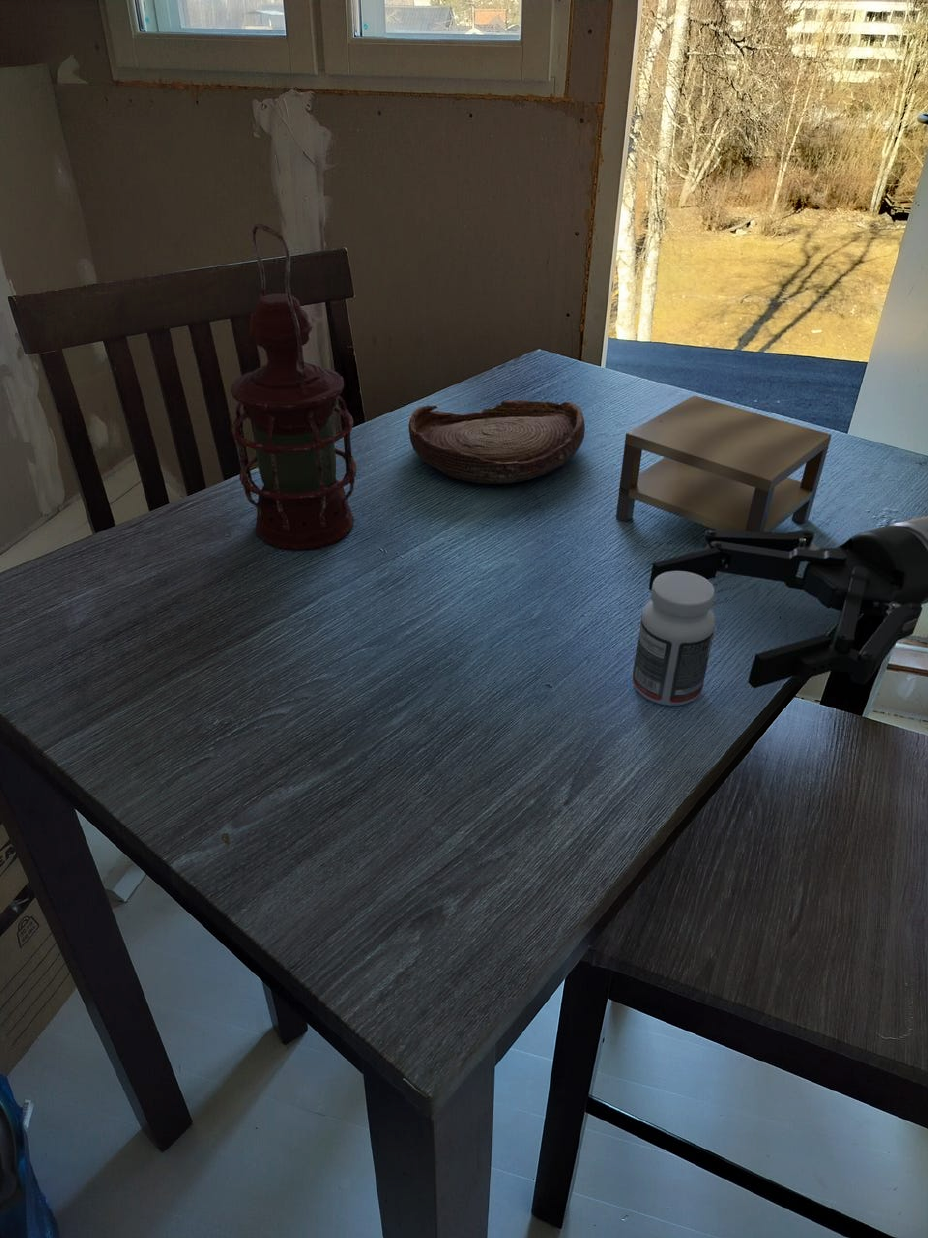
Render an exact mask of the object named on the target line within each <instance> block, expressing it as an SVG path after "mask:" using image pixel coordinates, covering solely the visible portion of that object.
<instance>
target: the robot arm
mask: <svg viewBox="0 0 928 1238" xmlns="http://www.w3.org/2000/svg"><path fill="white" fill-rule="evenodd" d="M814 537H815V533H814V532H813V531H812V530H808V529H801V530H795V531H788V532H783V531H782V532H781V531H780V532H779V531H778V532H777V531H772V532H754V531H725V530H715V529H708V530H705V532H704V535H703V541H702V545H701V546H702V547H701V548H698V549H694V550H691V551H685V552H682V553H680V554H679V555H678V556H675V557H672V558H667V559H663V560H658V561H654V562H652V566H651V571H650V580H649V584H648V590H649V591H650V592H651V589H652V585H653V581H654V580H655V578H656V577H657V576H659V575H660V574H662V573H665V572H670V571H686V572H691V573H694V574H697V575H700V576H702V577H704V578H705V579H707V580H708V581H709V580H712V579H715V578H717V573H718V572H719V573H725V574H731V575H737V576H744V577H750V578H754V579H755V578H756V579H761V580H767V581H774V582H779V583H780V582H781V583H783V584H784V585H785V587H787V588H789V589H792V590H793V589H794V590H799V591H804V592H805V593H807V594H808V595H810V596H811V597H813V598H815V599H817V600H818V602H820V604H821V605H822V606H824V607H825V608H826V609H832V610H836V611H839V616H838V619H837V623H836V628H835V633H834V637H833V640H832V638H831V637H829V636H828V635H827V634H826V633H822V634H819V635H816V636H813V637H810V638H806V639H803V640H799V641H795V642H792V643H789V644H785V645H782V646H778V647H775V648H771V649H768V650H765V651H762V652H759V653H755V654H754V658H753V661H752V665H751V670H750V673H749V677H748V680H747V683H748V684H749V685H750V686H751V687H752V688H753V689H758V688H760V687H763V686H766V685H770V684H773V683H775V682H779V681H782V680H786V679H789V678H792V677H795V676H797V677H799V678H800V679H811V678H813V677H817V676H819V675H822V674H826V673H830V672H832V673H838V674H839V673H843V672H844V673H845V674H847V675H849V676H850V680H851V682H853V683H854V684H856V685H860V686H862V685H864V686H865V685H867V684H868V682H869V681H870V680H871V678H872V677H873V676H874V674H875V673H876V672H877V670H878V668H879V667H881V665H882V664H883V662H884V660H885V659H887V658H886V657H888V655H889V653H890V652H891V651H892V649H893V648H894V646H896V644H897V642H899V641H901V640H903V639H905V638H907V637H910V636H911V635H913V634H914V632H915V629H916V627H917V624H918V621H919V619H920V616H921V614H922V611H923V606H922V605H925V604H928V515H925V516H920V517H916V518H912V519H908V520H904V521H899V522H896V523H893V524H890V525H886V526H881V527H878V528H874V529H870V530H865V531H862V532H859V533H856V534H854V535H852V536H851V537H850V538H848V539H847V540H846V541H844V542H843V543H841V545H839V546H837V547H819V546H818V545H817V544H816V543H814V542H813V541H814ZM802 562H807V564H806V566H805V568H804V571H803V574H802V577H799V576H798V572H799V569H800V566H801V563H802ZM860 614H864V615H868V616H871V617H883V620H882V622H881V623H880V625H878V627H877V628H876V630H875V631H873V634H872V635H871V636H870V637H869V639H868V640H867V641H866V643H865V644H864V645H863V647H862V648H861V649H860V651H859V650H858V649H855V648H853V644H854V641H855V634H856V629H857V625H858V620H859V616H860ZM831 643H832V644H831Z"/></svg>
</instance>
